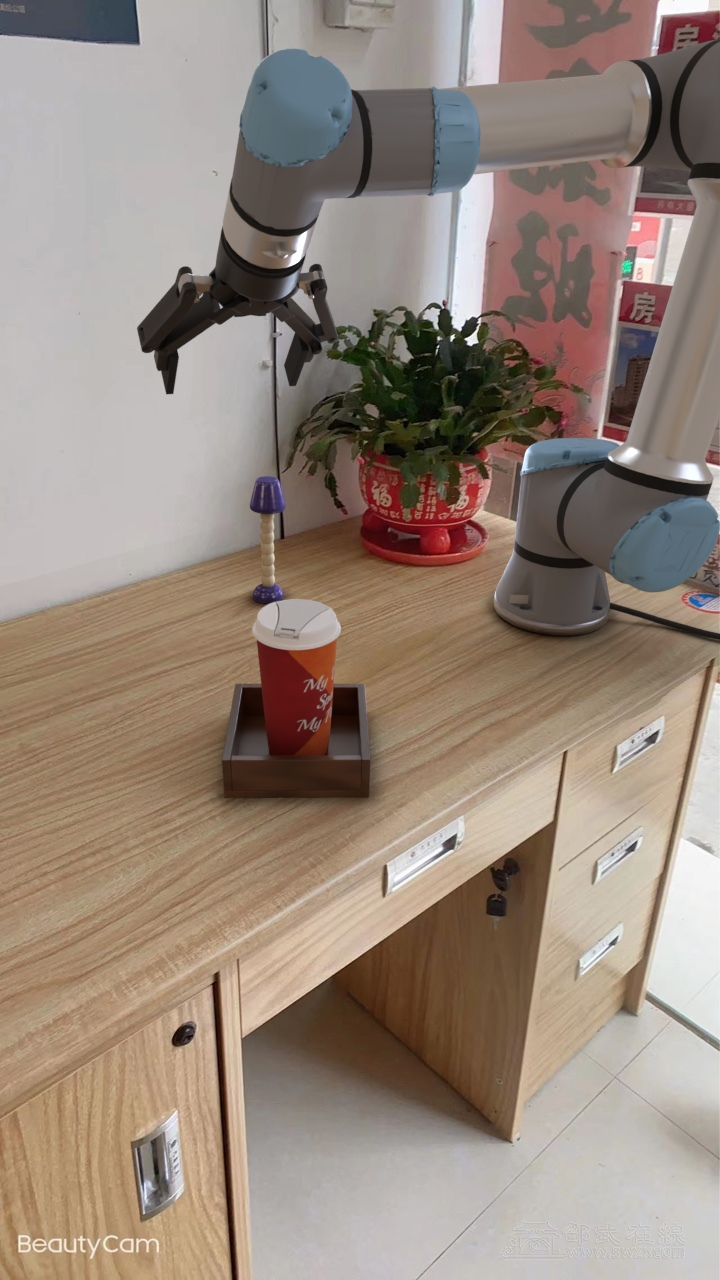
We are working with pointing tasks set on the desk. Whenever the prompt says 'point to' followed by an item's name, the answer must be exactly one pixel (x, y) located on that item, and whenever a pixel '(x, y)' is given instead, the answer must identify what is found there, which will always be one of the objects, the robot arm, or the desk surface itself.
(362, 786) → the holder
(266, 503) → the toy lamp
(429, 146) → the robot arm
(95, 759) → the desk surface
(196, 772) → the desk surface
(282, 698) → the coffee cup
